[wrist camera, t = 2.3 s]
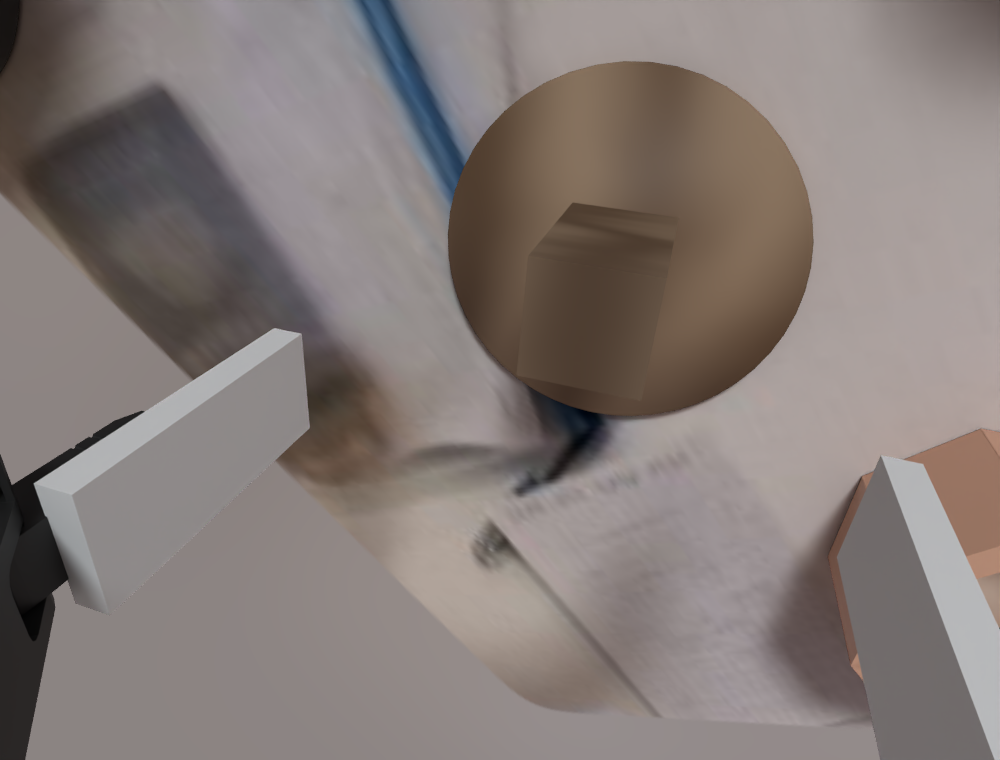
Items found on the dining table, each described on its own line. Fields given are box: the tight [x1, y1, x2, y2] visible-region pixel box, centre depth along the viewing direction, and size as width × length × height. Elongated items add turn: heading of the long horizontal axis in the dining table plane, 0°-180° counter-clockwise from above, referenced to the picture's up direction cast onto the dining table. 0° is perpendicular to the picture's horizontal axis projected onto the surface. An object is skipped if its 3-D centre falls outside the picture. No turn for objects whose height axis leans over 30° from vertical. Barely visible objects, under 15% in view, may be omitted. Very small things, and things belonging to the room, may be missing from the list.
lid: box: [448, 61, 813, 416], centre depth 23 cm, size 14×14×8 cm
